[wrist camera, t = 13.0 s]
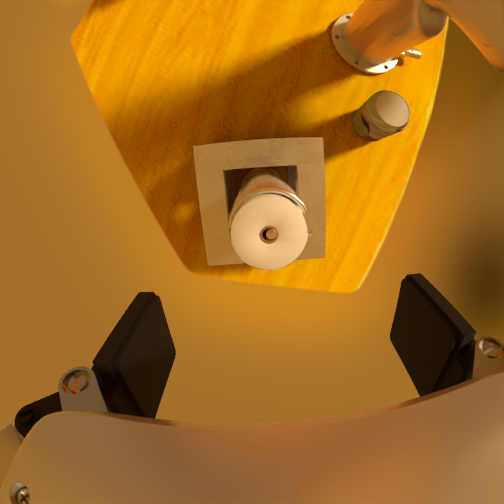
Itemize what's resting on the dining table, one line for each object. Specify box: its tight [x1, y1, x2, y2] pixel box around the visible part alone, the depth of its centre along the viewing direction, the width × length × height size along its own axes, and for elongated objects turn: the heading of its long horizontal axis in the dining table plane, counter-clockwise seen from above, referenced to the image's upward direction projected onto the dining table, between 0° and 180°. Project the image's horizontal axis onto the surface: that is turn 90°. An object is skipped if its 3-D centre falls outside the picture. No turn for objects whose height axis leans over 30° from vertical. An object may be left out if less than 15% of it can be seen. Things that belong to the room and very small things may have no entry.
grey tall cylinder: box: [227, 167, 313, 270], centre depth 31 cm, size 6×6×25 cm
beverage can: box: [352, 90, 410, 141], centre depth 33 cm, size 6×7×12 cm
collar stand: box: [193, 137, 326, 266], centre depth 37 cm, size 15×15×12 cm
